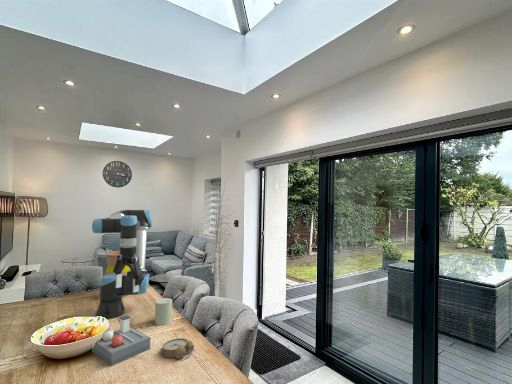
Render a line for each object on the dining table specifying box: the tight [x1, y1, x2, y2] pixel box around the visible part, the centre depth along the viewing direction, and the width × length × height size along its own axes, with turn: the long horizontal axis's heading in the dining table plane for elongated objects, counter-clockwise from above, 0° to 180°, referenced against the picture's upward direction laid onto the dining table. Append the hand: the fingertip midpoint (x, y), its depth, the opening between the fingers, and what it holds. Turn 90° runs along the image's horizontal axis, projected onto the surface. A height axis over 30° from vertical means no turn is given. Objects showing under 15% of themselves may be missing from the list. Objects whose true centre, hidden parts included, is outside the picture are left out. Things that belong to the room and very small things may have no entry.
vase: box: [103, 250, 130, 298], centre depth 201 cm, size 22×22×30 cm
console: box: [91, 325, 151, 366], centre depth 123 cm, size 19×17×6 cm
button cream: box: [102, 329, 114, 342], centre depth 123 cm, size 4×4×4 cm
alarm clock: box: [160, 337, 195, 360], centre depth 121 cm, size 11×5×15 cm
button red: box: [111, 335, 122, 348], centre depth 118 cm, size 4×4×4 cm
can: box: [154, 297, 173, 326], centre depth 153 cm, size 9×9×12 cm
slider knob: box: [119, 314, 131, 333], centre depth 130 cm, size 3×3×7 cm
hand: (126, 289), depth 136 cm, fingers open, 13 cm apart
